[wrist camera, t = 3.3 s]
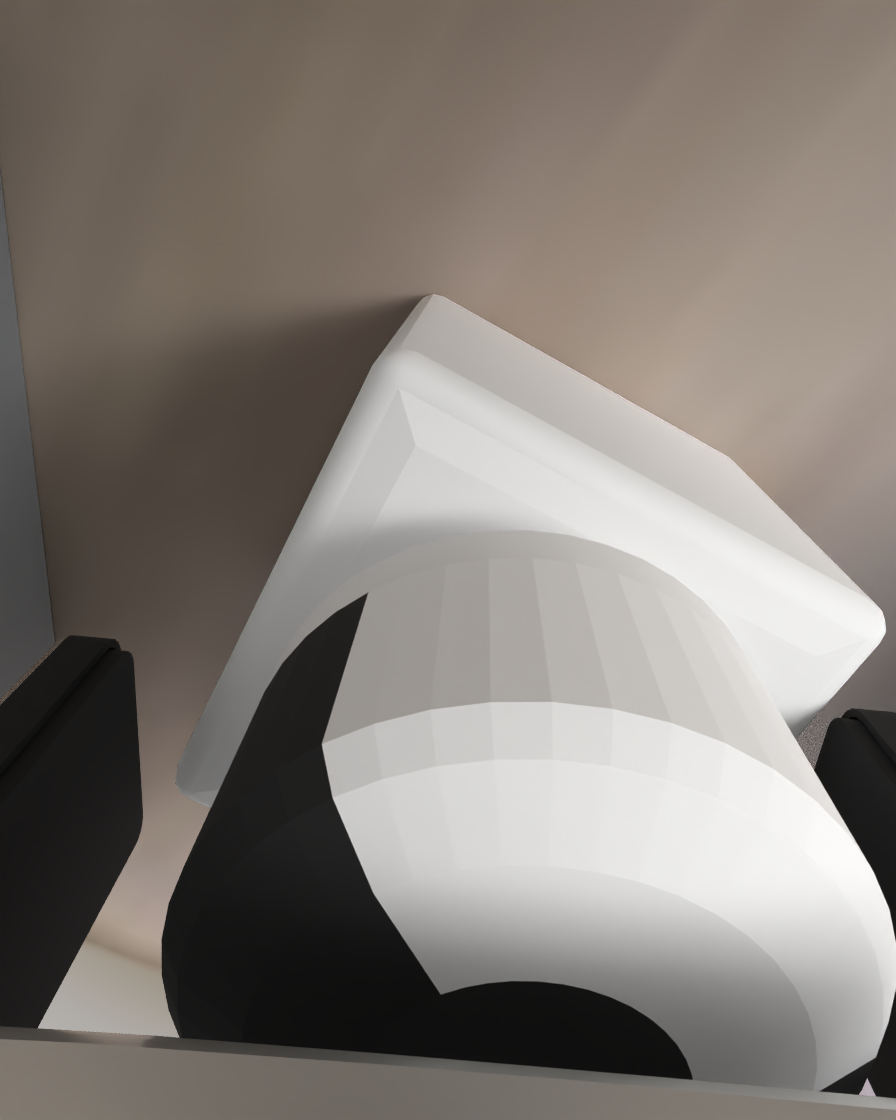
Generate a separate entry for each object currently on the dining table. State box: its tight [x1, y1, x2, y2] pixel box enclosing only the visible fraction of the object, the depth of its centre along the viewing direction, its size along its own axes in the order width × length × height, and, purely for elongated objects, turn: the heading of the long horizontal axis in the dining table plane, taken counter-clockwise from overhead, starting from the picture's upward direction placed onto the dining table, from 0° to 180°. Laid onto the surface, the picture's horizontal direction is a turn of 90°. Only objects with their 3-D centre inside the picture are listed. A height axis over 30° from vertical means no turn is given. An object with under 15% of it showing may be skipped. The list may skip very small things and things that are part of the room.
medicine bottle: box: [162, 294, 896, 1095], centre depth 11 cm, size 7×7×12 cm
